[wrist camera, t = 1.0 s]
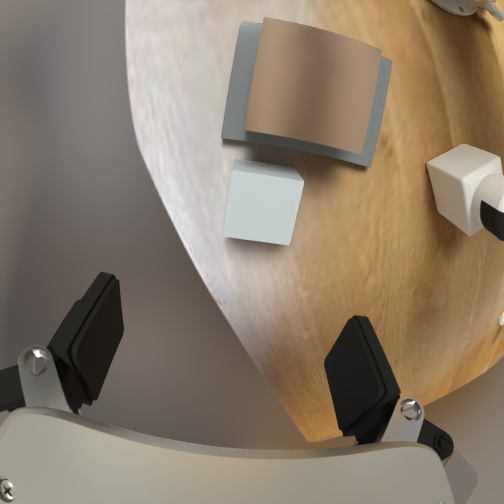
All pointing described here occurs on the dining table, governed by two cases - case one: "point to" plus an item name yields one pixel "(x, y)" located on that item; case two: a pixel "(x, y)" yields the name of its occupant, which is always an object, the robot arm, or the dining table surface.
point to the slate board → (235, 131)
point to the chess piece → (501, 319)
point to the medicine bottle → (469, 189)
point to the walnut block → (312, 85)
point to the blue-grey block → (262, 202)
